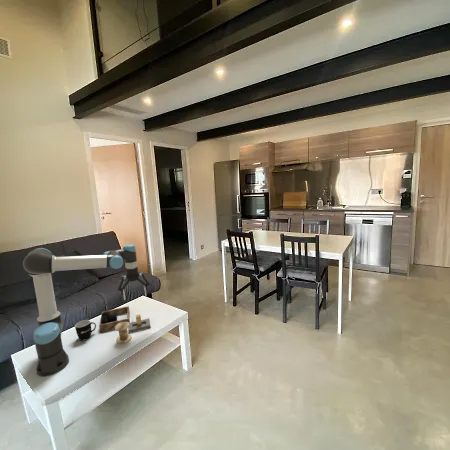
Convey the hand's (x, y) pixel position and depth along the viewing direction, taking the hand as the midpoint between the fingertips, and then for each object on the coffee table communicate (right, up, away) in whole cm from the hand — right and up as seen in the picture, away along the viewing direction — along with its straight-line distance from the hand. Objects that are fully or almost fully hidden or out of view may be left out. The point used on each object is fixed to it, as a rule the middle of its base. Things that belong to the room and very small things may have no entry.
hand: (135, 297), depth 173 cm
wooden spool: (-4, -24, -10) cm, 26 cm away
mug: (-30, -25, -4) cm, 40 cm away
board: (+2, -22, +4) cm, 22 cm away
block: (+2, -21, +3) cm, 21 cm away
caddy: (-19, -21, +13) cm, 31 cm away
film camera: (-22, -22, +10) cm, 33 cm away
